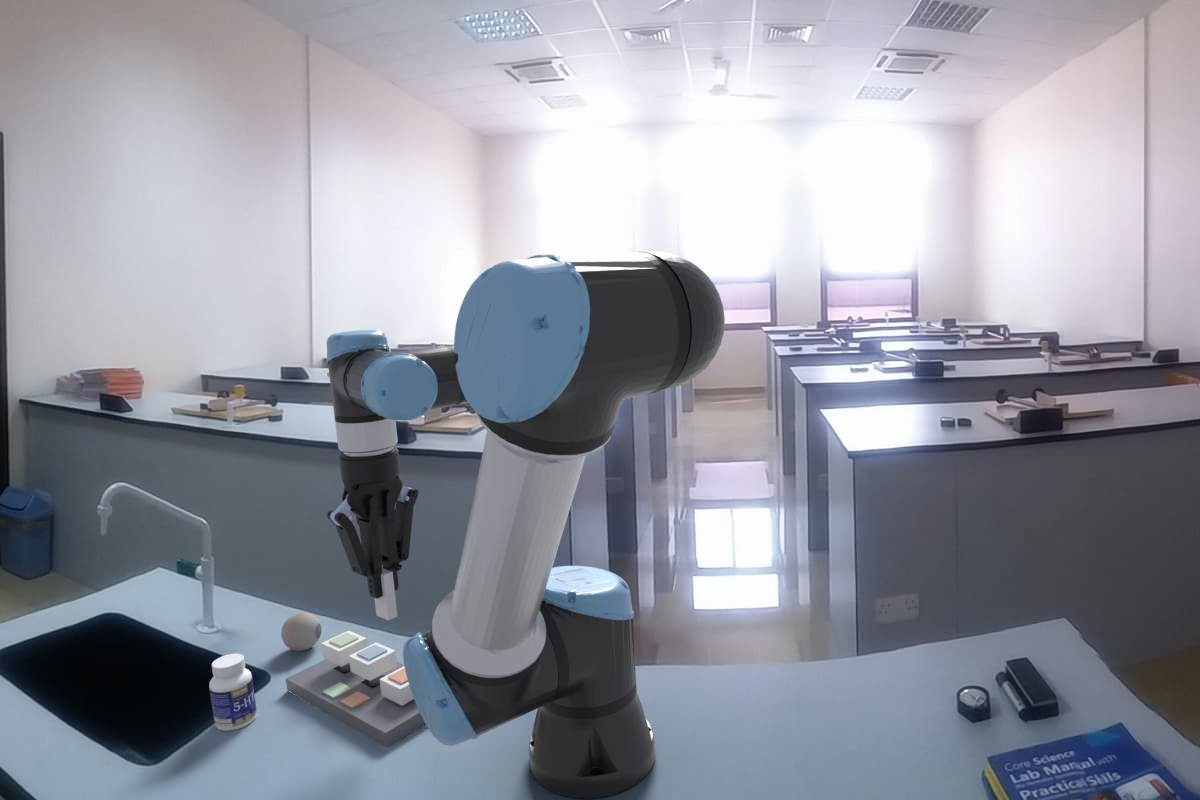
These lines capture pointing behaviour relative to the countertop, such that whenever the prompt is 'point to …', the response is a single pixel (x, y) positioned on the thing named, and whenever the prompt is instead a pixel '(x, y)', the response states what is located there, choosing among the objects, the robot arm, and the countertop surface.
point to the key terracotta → (396, 687)
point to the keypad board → (356, 702)
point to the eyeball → (301, 631)
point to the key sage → (343, 648)
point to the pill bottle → (232, 693)
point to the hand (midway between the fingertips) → (386, 615)
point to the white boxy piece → (373, 662)
